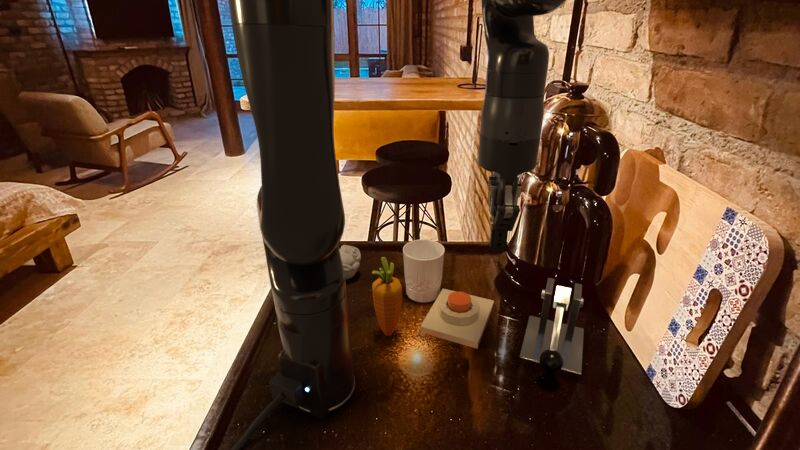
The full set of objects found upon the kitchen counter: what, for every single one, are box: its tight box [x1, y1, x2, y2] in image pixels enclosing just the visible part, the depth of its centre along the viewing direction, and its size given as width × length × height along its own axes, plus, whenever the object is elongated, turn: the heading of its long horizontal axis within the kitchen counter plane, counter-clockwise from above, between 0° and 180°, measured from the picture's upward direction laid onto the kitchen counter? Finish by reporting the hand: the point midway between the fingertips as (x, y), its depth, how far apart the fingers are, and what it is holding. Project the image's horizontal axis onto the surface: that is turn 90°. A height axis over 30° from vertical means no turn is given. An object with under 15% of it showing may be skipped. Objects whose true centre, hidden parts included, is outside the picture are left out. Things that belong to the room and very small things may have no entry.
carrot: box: [371, 256, 403, 337], centre depth 67 cm, size 5×5×15 cm
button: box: [448, 291, 471, 313], centre depth 71 cm, size 4×4×2 cm
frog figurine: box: [339, 244, 362, 280], centre depth 85 cm, size 6×7×7 cm
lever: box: [539, 284, 573, 374], centre depth 60 cm, size 13×3×3 cm
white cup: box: [402, 238, 446, 304], centre depth 79 cm, size 8×8×10 cm
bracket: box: [518, 277, 585, 376], centre depth 64 cm, size 11×9×12 cm
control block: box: [419, 288, 495, 349], centre depth 72 cm, size 12×10×4 cm
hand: (497, 249), depth 59 cm, fingers closed
